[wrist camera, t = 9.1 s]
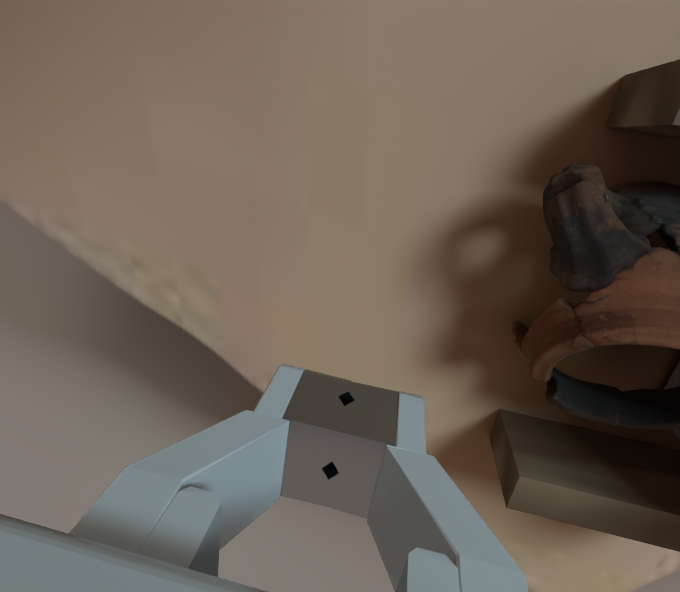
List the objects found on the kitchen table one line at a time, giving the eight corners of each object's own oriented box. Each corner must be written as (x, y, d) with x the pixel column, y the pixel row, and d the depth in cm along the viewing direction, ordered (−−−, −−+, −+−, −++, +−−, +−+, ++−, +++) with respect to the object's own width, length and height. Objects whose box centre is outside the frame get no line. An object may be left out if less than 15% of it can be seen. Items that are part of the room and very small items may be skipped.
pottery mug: (773, 266, 19) (848, 436, 14) (564, 319, 26) (565, 446, 21) (666, 53, 14) (722, 196, 9) (446, 186, 21) (412, 309, 16)
